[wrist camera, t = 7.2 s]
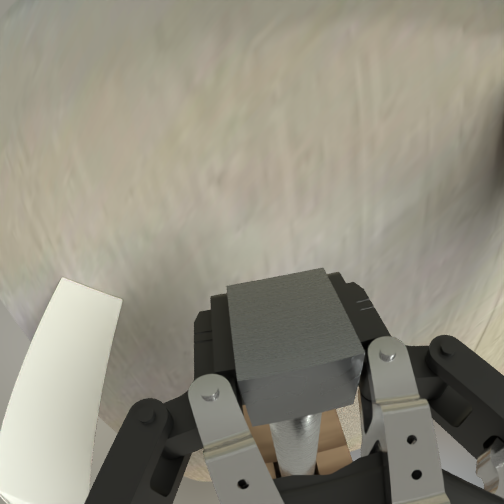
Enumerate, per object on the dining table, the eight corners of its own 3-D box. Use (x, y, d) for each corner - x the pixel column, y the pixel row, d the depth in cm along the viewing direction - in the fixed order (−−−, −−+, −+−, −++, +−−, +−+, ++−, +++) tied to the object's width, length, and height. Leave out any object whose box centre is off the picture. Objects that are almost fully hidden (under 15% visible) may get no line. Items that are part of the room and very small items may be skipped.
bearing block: (226, 356, 31) (247, 528, 16) (312, 339, 32) (365, 503, 17) (243, 409, 38) (263, 536, 23) (311, 395, 38) (345, 518, 23)
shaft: (226, 286, 11) (237, 381, 8) (323, 267, 11) (365, 352, 8) (279, 484, 27) (285, 515, 24) (310, 478, 27) (318, 508, 24)
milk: (123, 298, 26) (90, 567, 8) (110, 339, 28) (86, 562, 10) (60, 275, 24) (-18, 530, 5) (55, 320, 26) (3, 535, 8)
